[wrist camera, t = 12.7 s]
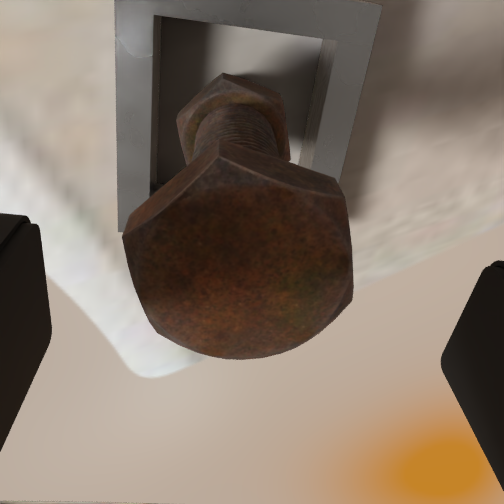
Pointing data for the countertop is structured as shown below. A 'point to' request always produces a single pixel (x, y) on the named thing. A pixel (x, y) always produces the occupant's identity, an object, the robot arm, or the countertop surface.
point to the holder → (248, 16)
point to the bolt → (240, 233)
